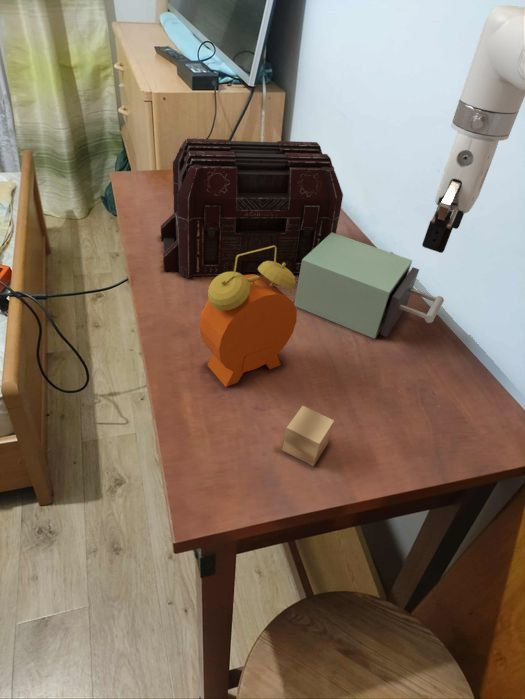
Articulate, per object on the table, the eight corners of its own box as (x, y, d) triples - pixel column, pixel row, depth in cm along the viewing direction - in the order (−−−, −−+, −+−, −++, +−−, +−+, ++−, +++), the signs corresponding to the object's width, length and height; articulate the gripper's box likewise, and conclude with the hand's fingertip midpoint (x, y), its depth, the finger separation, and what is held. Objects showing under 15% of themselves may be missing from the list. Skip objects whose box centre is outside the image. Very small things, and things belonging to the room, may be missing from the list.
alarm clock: (267, 340, 83) (283, 229, 71) (289, 362, 80) (310, 250, 67) (196, 366, 77) (199, 249, 64) (217, 391, 73) (224, 273, 60)
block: (327, 443, 68) (334, 420, 65) (313, 466, 65) (319, 443, 62) (297, 428, 70) (302, 405, 67) (281, 450, 67) (286, 427, 64)
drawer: (437, 317, 92) (452, 281, 87) (420, 350, 84) (435, 312, 79) (335, 278, 98) (343, 242, 93) (309, 305, 91) (317, 268, 86)
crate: (318, 231, 115) (334, 134, 102) (344, 274, 100) (367, 168, 87) (160, 232, 108) (156, 129, 95) (164, 278, 93) (159, 164, 80)
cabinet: (397, 304, 95) (412, 260, 89) (374, 339, 87) (389, 292, 80) (322, 276, 100) (331, 232, 94) (293, 305, 92) (301, 259, 85)
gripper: (501, 143, 60) (451, 268, 71) (521, 113, 72) (476, 224, 83) (439, 127, 62) (400, 251, 73) (468, 100, 74) (431, 210, 85)
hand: (440, 236), depth 78 cm, fingers open, 9 cm apart
